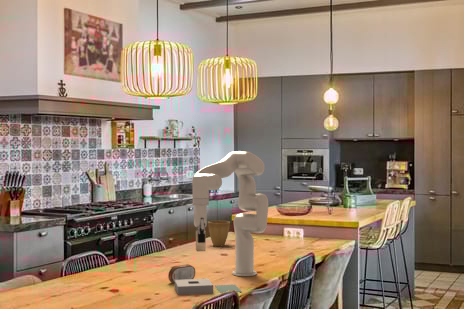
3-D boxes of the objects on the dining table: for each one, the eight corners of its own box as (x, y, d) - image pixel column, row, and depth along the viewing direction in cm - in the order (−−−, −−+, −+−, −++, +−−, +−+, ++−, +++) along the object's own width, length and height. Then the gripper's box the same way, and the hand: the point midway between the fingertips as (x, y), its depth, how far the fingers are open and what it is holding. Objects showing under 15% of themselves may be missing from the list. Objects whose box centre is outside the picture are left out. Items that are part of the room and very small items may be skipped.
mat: (214, 286, 290) (214, 285, 290) (235, 285, 291) (235, 284, 291) (219, 293, 276) (219, 292, 276) (241, 292, 278) (241, 291, 278)
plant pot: (226, 247, 400) (226, 223, 400) (204, 246, 405) (204, 222, 405) (232, 244, 415) (233, 220, 414) (212, 243, 419) (212, 220, 419)
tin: (192, 279, 305) (192, 262, 305) (196, 280, 302) (196, 263, 302) (167, 284, 295) (167, 266, 295) (171, 285, 292) (171, 267, 292)
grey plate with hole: (174, 288, 286) (174, 279, 286) (208, 286, 289) (208, 278, 289) (177, 295, 272) (177, 286, 272) (213, 294, 275) (213, 285, 275)
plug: (195, 250, 283) (195, 230, 283) (204, 249, 283) (204, 230, 283) (196, 251, 279) (196, 231, 278) (205, 251, 279) (205, 231, 279)
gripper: (190, 200, 288) (190, 239, 289) (194, 204, 272) (194, 245, 272) (206, 200, 289) (206, 238, 290) (211, 203, 273) (211, 244, 273)
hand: (200, 241), depth 281 cm, fingers closed on plug, 4 cm apart
